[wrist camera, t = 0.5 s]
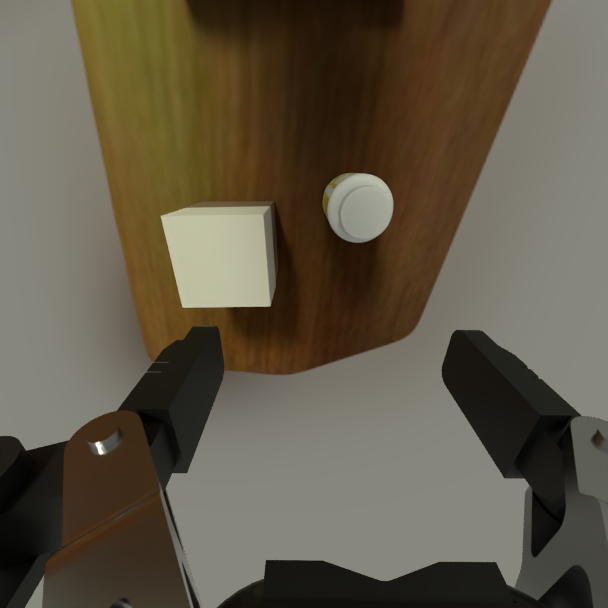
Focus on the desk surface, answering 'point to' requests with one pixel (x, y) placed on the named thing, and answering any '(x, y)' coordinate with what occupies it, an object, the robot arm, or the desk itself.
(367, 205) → the supplement bottle
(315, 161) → the desk surface
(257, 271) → the tower top
